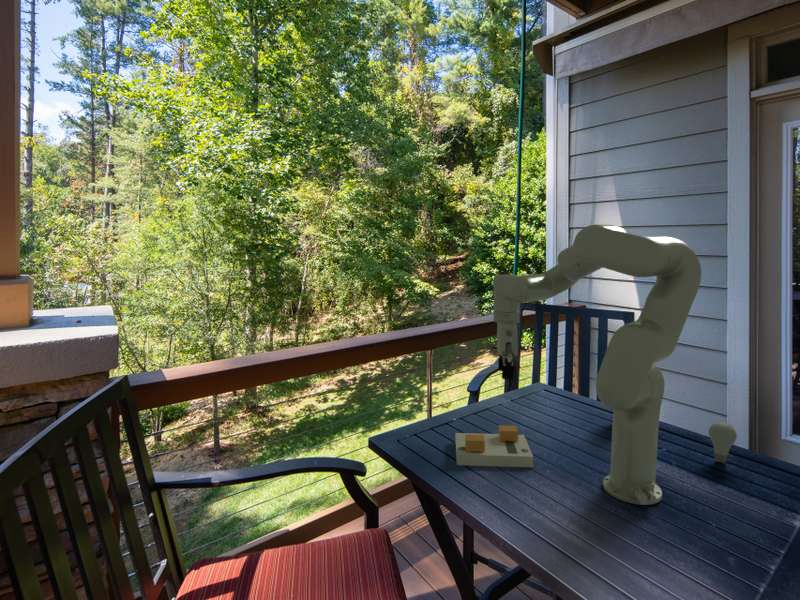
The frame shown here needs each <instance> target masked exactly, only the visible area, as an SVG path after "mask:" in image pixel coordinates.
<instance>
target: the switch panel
mask: <svg viewBox="0 0 800 600" xmlns="http://www.w3.org/2000/svg"><path fill="white" fill-rule="evenodd" d="M465 434H468V435H484V440H485V452H476V451H466V447H465ZM454 435H455V436H454V439H455V441H454V442H455V445H456V446H455V456H456V458H455V460H456V461H455V462H456V466H467V465H468V466H472V467H474V466H476V467H499V468H500V467H504V468H509V467H510V468H534V455H533V453H532V451H531V449H530V446H529V444H528V441H527V439H526V436H525V434H520V433H518V441H500V438H499V433H477V432H475V433H471V432H469V433H468V432H455V434H454Z"/></svg>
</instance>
